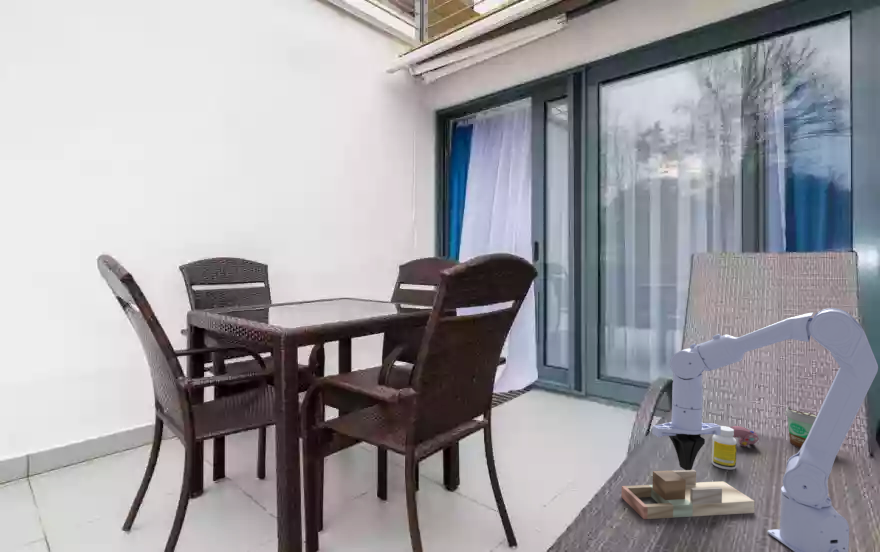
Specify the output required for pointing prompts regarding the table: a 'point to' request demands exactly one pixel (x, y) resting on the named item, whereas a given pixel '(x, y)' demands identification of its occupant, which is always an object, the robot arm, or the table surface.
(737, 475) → the table surface
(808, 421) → the food container
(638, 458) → the table surface
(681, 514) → the board
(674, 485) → the walnut block
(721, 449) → the supplement bottle
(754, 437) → the video game controller
